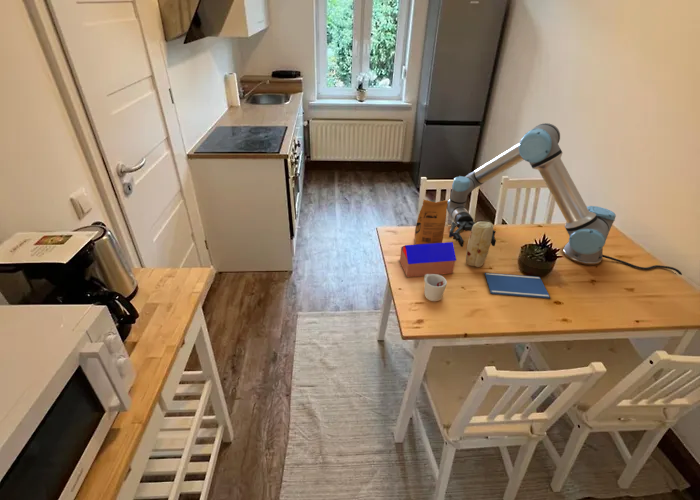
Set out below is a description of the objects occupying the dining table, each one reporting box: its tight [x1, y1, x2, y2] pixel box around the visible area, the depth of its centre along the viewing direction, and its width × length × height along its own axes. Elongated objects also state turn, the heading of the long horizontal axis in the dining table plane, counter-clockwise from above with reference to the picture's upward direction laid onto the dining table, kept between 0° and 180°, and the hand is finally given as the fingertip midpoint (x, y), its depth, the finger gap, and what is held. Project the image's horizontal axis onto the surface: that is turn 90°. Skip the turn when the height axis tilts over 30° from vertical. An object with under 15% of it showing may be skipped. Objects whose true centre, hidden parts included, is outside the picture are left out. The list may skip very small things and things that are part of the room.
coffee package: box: [414, 199, 448, 245], centre depth 171 cm, size 10×12×22 cm
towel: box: [484, 272, 551, 300], centre depth 152 cm, size 22×13×1 cm, turn 84°
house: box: [399, 241, 457, 278], centre depth 158 cm, size 12×20×12 cm, turn 99°
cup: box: [423, 274, 448, 302], centre depth 144 cm, size 11×8×8 cm
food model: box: [465, 221, 495, 268], centre depth 158 cm, size 10×7×20 cm
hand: (478, 243), depth 159 cm, fingers open, 13 cm apart
